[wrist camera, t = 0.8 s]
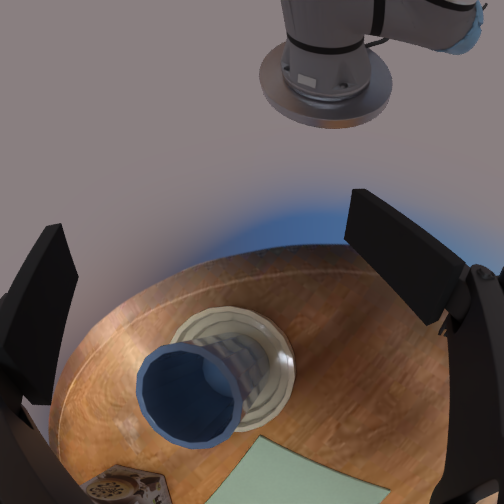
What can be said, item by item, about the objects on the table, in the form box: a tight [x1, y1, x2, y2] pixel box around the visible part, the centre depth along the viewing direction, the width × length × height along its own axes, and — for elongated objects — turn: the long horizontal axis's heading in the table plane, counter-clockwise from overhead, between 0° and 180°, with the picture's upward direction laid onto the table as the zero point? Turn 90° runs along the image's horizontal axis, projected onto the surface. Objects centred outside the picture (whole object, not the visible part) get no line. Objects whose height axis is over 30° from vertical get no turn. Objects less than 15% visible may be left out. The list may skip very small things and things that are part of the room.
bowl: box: [170, 306, 296, 432], centre depth 31 cm, size 14×14×4 cm
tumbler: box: [136, 332, 270, 449], centre depth 25 cm, size 8×8×14 cm
